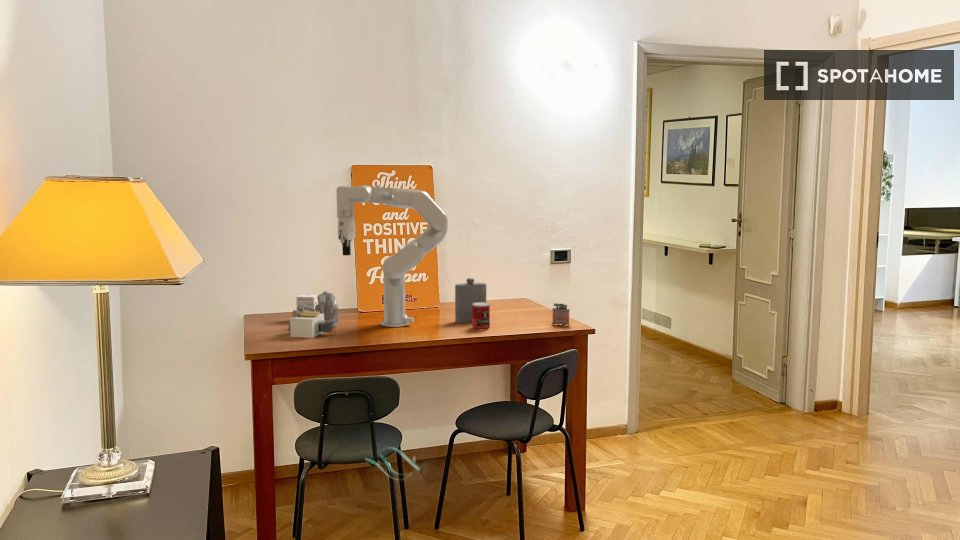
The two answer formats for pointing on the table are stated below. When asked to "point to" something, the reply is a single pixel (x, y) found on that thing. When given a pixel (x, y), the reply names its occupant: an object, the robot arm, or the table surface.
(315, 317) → the block
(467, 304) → the flask
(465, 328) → the table surface
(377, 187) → the robot arm
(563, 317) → the lighter
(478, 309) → the canned food
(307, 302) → the ink box
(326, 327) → the pin
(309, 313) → the lever
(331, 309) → the figurine
